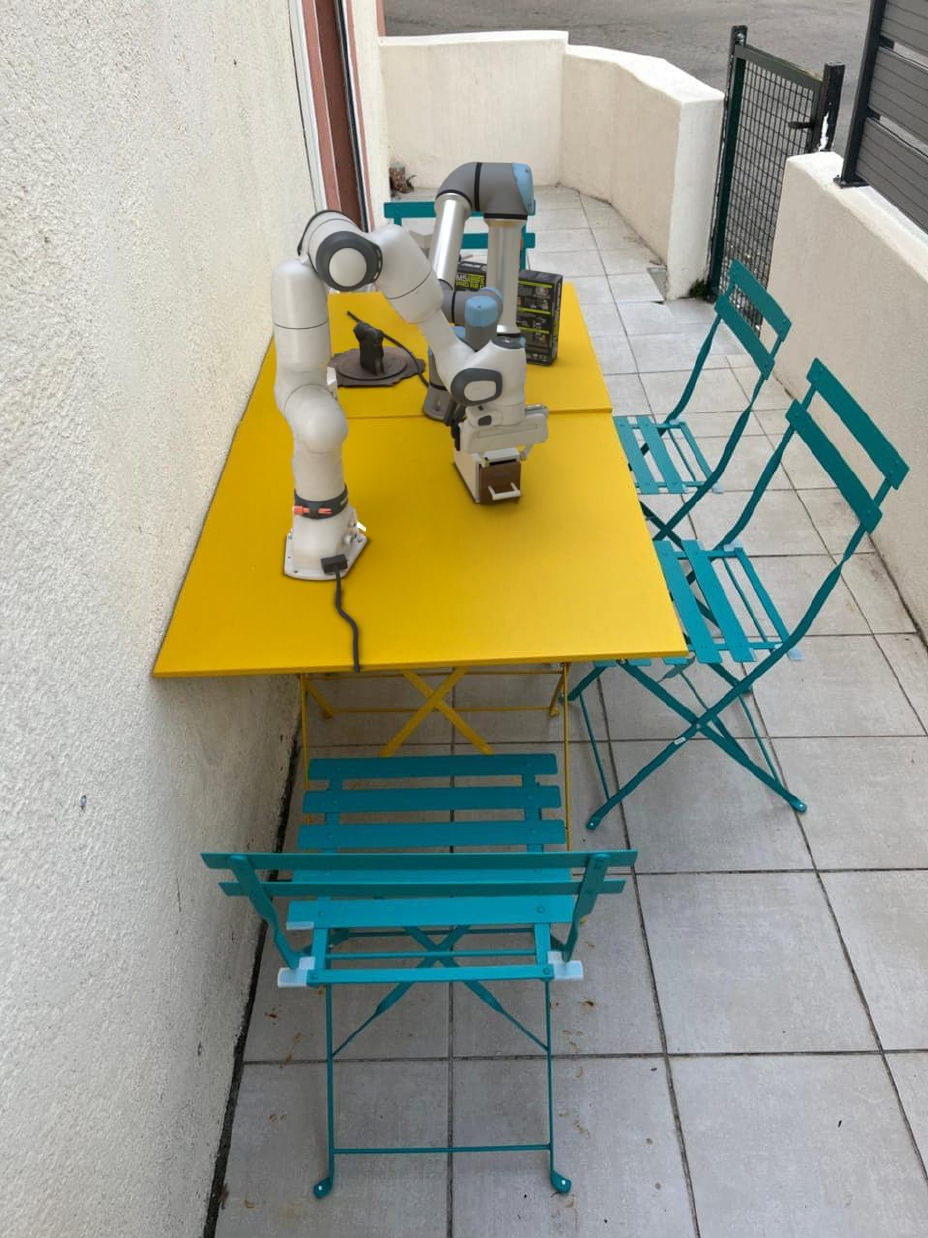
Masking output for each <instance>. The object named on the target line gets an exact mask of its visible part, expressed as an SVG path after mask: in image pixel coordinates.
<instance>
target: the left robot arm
mask: <svg viewBox="0 0 928 1238" xmlns="http://www.w3.org/2000/svg"><path fill="white" fill-rule="evenodd" d="M296 253H297V255H298V257H290V258H287V259H283V260H282V261H280V262H279V263H277V264H276V265H275V267H274V268H273V270H272V272H271V280H270V311H271V322H272V331H273V338H274V346H275V355H276V370H275V382H274V385H273V394H274V399H275V404H276V406H277V409H278V411H279V413H281V415H282V417H283V418H284V420H285V421H286V422H287V424H288V427H289V429H290V431H291V435H292V439H293V454H292V455H291V459H290V463H291V469H292V470H291V471H292V477H293V483H294V489H293V504H294V505H293V506H292V508H291V510H292V523H291V524H292V526H291V527H290V530H289V532H288V533H287V535H286V543H285V555H284V574H285V575H287V576H289V577H292V578H295V579H300V580H310V581H330V580H335V583H336V585H335V586H336V589H335V590H336V592H335V593H336V594H335V602H334V603H335V604H334V605H335V608H336V610H337V612H338V613H339V615H340V616H341V617H342V618H344V619H345V620H346V621H347V622H348V623H349V624H350V626H351V629H352V634H353V635H352V656H353V667H354V673H355V674H360V672H361V668H360V660H359V658H360V657H359V630H358V628H359V627H358V625H357V623H356V622H355V620H354V619H353V618H352V617H351V616H350V615H349V614H348V613H347V612H345V611H344V610H343V607H342V606H341V598H342V597H341V596H342V580H341V579H342V578H343V577H345V576H346V575H347V573H348V572H349V571H350V569H351V567H352V566H353V564H354V563H355V561H356V559H357V558H358V557H359V556H360V553H361V552H362V551H363V549H364V548H365V546H366V544H367V542H368V539H367V536H366V535H365V534H363V533H361V532H360V529H361V530H363V531H364V532H366V530H367V529H366V527H365V526H363V524H361V523H360V522H359V520H358V514H357V510H356V508H354V506H352V505H351V503H350V502H349V489H348V486H347V483H346V482H345V474H344V464H343V463H344V462H343V449H344V443H345V442H346V440H347V437H348V436H349V423H348V418H347V416H346V414H345V410H344V408H343V407H342V405H341V404H340V402H339V403H338V402H337V400H336V399H335V398H334V397H333V395H332V394H331V392H330V390H329V387H328V384H327V368H328V362H329V361H330V359H331V358H332V357H333V350H332V337H331V335H332V334H331V326H330V325H331V324H330V314H329V313H330V312H329V305H328V300H329V293H330V290H331V289H333V290H335V291H337V292H340V293H341V292H342V293H350V292H355V291H357V290H359V289H362V288H363V287H364V286H367V285H371V284H374V283H375V284H376V286H377V287H378V289H379V291H380V292H381V293H382V295H383V297H384V298H385V300H386V302H387V303H388V305H389V306H390V307H391V308H392V310H393V311H394V312H395V313H396V314H397V316H399V318H400V319H401V320H403V322H405V323H406V324H410V325H411V324H412V325H415V326H416V327H417V329H418V330H419V332H420V334H421V336H422V337H423V339H424V340H425V342H426V343H427V346H428V345H429V347H430V349H431V351H432V356H433V365H434V370H435V372H436V374H437V376H438V377H439V378H440V380H441V381H442V382H443V383H444V385H445V387H446V388H447V390H448V391H449V393H450V395H451V396H452V398H453V399H454V400H455V401H456V402H457V403H458V404H460V405H462V406H467V408H466V410H465V411H466V416H467V419H464V420H463V422H462V423H463V427H462V435H461V445H462V448H463V449H464V451H465V452H466V453H467V454H473V453H478V455H479V457H480V458H481V465H482V467H489V459H488V458H487V457H483V455H485V452H486V451H493V450H499V449H506V448H512V447H516V448H518V447H524V448H523V450H522V451H518V452H519V455H520V456H519V458H520V462H526V461H528V460H529V458H528V457H529V456H528V455H530V453H531V451H532V450H533V448H534V445H537V444H543V443H545V442H547V440H548V437H549V429H548V428H549V427H548V419H549V414H550V410H549V407H548V406H547V405H544V404H543V403H536V404H530V405H529V404H528V405H526V397H527V395H526V391H525V384H526V382H527V362H526V354H525V349H524V347H523V346H522V345H521V343H519V342H518V341H517V340H515V339H512V338H510V337H505V336H498V337H493V338H492V339H491V340H490V341H489V343H488V344H487V345H486V346H485V347H483V348H482V349H481V350H479V351H478V352H475V350H474V349H473V347H472V346H471V345H470V344H469V343H467V342H466V341H464V340H463V339H461V338H460V337H458V336H457V335H456V334H455V333H454V331H453V329H452V328H451V327H452V326H451V323H449V322H448V321H447V319H446V317H445V316H444V314H443V312H442V310H441V306H442V303H443V300H444V294H443V291H442V288H441V285H440V282H439V280H438V277H437V275H436V273H435V271H434V269H433V268H432V266H431V264H430V262H429V261H428V259H427V258H426V256H425V254H424V253H423V251H422V250H421V249H420V247H419V246H418V245H417V243H416V242H415V241H414V239H413V238H412V237H411V236H410V235H409V231H407V230H406V228H404V227H403V226H401V225H399V224H395V223H388V224H383V225H381V226H379V227H377V228H376V229H375V230H373V231H370V232H364V231H363V230H361V229H360V228H359V226H358V225H357V224H356V223H355V222H354V221H353V220H352V218H351V217H349V215H348V214H346V213H344V212H342V211H341V210H337V209H333V208H332V209H330V208H328V209H322V210H319V211H317V212H316V213H314V214H313V215H312V216H311V217H310V218H309V220H308V222H307V223H306V226H305V228H304V230H303V233H302V236H301V238H300V239H299V243H298V245H297V247H296Z"/></svg>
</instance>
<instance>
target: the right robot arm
mask: <svg viewBox="0 0 928 1238" xmlns="http://www.w3.org/2000/svg"><path fill="white" fill-rule="evenodd" d="M534 189H535V188H534V179H533V172H532V169H531V167H530V166H529V165H528V164H525V163H519V162H518V163H517V162H514V161H513V162H493V161H492V162H491V161H489V162H488V161H485V162H484V161H468V162H466V163H463V164H461V165H459V166H457V168H455V169H454V170H453V171H452V172H451V173H449V174H448V175H447V176H446V177H445V179H444V180H443V182H442V183H441V185H440V186H439V188H438V190H437V193H436V195H435V200H434V205H433V208H434V209H433V210H434V213H435V219H434V220H435V221H434V225H433V226H434V231H433V236H432V241H431V247H430V252H429V257H428V261H429V262H430V264H431V266H432V268H433V269H434V271H435V273H436V275H437V277H438V280H439V282H440V285H441V288H442V291H443V294H444V300H443V303H442V306H441V310H442V312H443V314H444V316H445V317H446V319H447V321H448V322H449V324H454V323H456V324H465V328H464V327H461V326H454V325H453V326H451V328H452V329H453V331H454V333H455V334H456V335H457V336H458V337H460V338H461V339H463V340H464V341H466V342H467V343H469V344H470V345H471V346H472V347H473V349H474V350H475V352H478V351H479V350H481V349H482V348H483V347H485V346H486V345H487V344H488V343H489V341H490V340H491V339H492V338H493V337H498V336H505V337H510V338H512V339H515V340H517V341H518V342H519V343H521V345H522V346H523V347H524V349H525V343H526V340H525V339H524V338H523V337H520V336H521V330H520V329H519V328H518V327H517V326H516V310H517V293H518V275H519V268H520V265H519V258H520V241H521V234H522V229H523V228H524V226H525V225H526V224H527V223H528V220H529V219H528V218H529V215H533V214H534V212H535V192H534ZM473 212H476V213H482V217H483V218H482V220H483V222H484V223H485V224H486V225H487V227H488V233H487V234H488V235H487V251H486V252H487V253H486V254H487V255H486V264H487V275H486V287H484V288H482V289H480V290H479V291H478V292H468V291H454V285H455V279H456V273H457V268H458V264H459V263H460V262H459V256H460V254H461V249H462V246H463V245H462V244H463V239H464V238H463V237H464V233H465V227H466V222H467V221H468V220H469V219H470V217H471V214H472V213H473ZM458 262H459V263H458ZM346 314H348V315H349V316H350V317H351V318H352V319H354V320H355V321H356V322H357V323H358V322H359V321H362V319H360V318H358V317H357V316H355V315H354V314H353V313H352V312H351V311H350V310H347V311H346ZM383 333H384V337H385V338H386V339H388V340H390V341H391V342H393V343H394V344H396V345H397V346H398V347H399V348H403V349H404V350H405V351H406V352H407V353H409V355H410V356H411V357H412V359H413V361H414V362H415V364H416V366H417V369H418V373H417V374H418V376H419V377H420V379H421V380H422V382H423V384H425V386H426V387H428V388H427V390H426V394H425V397H424V401H423V412H424V414H425V415H426V416H427V417H428V418H430V419H433V420H435V421H439V422H443V424H444V425H445V427H447V428H448V427H450V437H451V438H452V439H453V447H454V446H455V448H456V450H457V451H460V427H459V425H458V424H459V423H461V421H465V420H466V419H467V416H466V411H465V410H466V408H467V406H462V405H460V404H458V403H457V402H456V401H455V400H454V399H453V398H452V396H451V395H450V393H449V391H448V390H447V388H446V387H445V385H444V383H443V382H442V381H441V380H440V378H439V377H438V376H437V374H436V372H435V370H434V365H433V356H432V351H431V349H430V347H429V345H428V344H427V364H428V380H426V378H425V377H424V375H423V373H422V371H420V368H419V365H418V363H417V361H416V359H415V358H416V357H415V355H414V356H413V355H412V354H411V353H410V352H411V351H408V350H409V349H408V348H407V347H405V346H404V345H403V344H402V343H401V342H399V341H398V340H396V339H394V338H393V337H391V336H390V335H388V334H386V333H385V332H383ZM414 357H415V358H414Z"/></svg>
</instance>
